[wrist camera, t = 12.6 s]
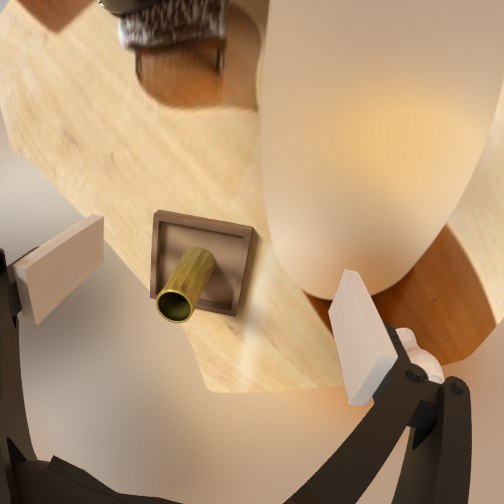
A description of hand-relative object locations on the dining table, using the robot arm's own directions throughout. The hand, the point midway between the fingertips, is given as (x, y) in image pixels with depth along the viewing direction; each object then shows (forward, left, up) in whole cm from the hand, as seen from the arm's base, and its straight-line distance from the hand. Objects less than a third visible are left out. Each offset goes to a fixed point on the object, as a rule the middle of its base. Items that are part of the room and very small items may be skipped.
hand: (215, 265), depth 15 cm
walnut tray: (+16, -7, -33) cm, 38 cm away
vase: (+16, -7, -33) cm, 37 cm away
